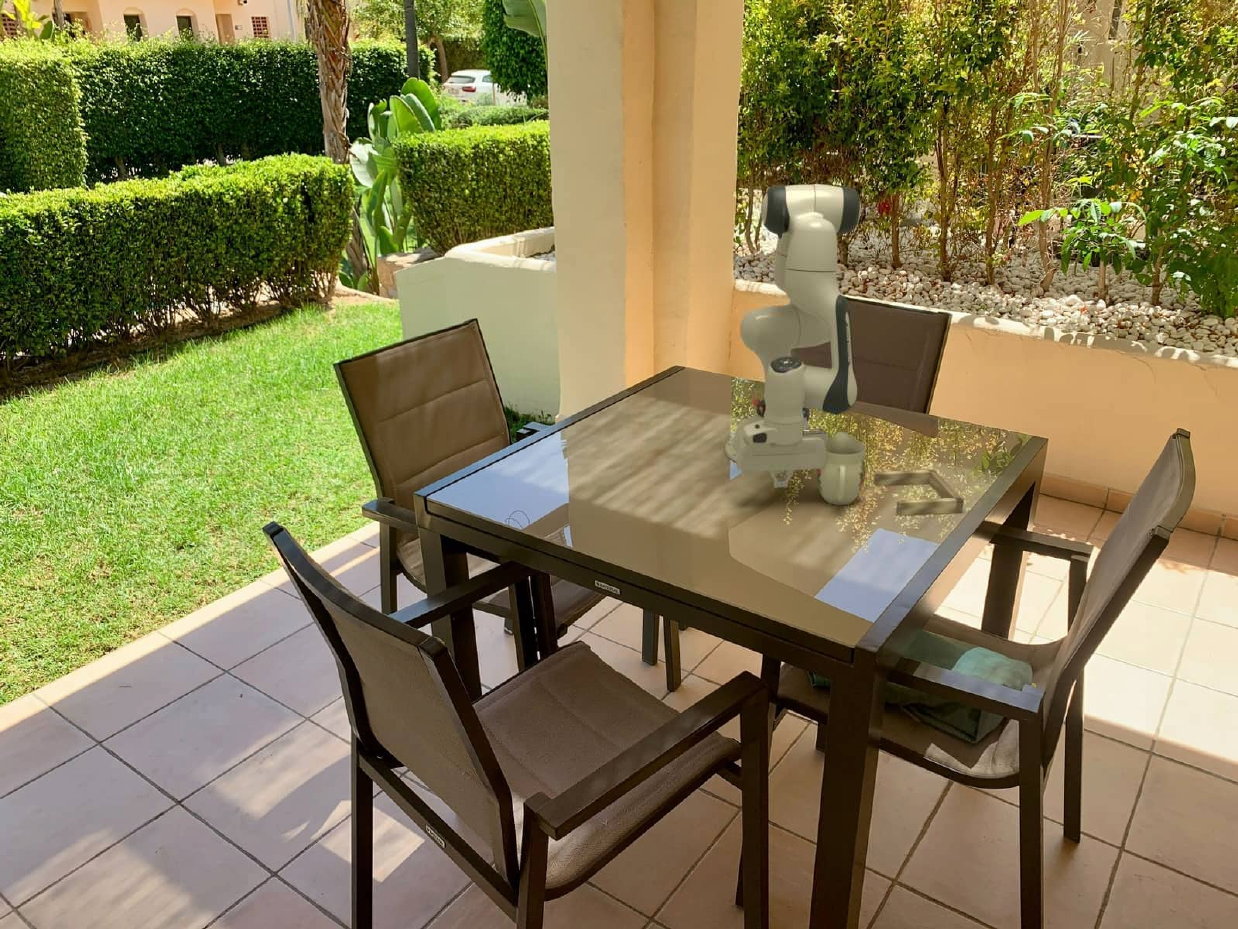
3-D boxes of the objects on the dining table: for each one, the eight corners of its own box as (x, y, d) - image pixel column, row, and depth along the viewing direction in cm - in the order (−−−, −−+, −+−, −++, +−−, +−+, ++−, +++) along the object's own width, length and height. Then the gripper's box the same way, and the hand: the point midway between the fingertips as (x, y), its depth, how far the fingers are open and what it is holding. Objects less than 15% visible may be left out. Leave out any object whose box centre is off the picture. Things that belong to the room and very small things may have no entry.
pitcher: (814, 515, 208) (818, 459, 203) (814, 484, 224) (818, 430, 219) (864, 518, 206) (869, 461, 201) (861, 486, 222) (865, 432, 217)
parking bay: (898, 515, 207) (899, 503, 206) (873, 483, 224) (874, 472, 223) (962, 512, 208) (963, 500, 206) (933, 481, 224) (934, 469, 223)
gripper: (825, 423, 211) (821, 479, 216) (736, 427, 210) (734, 483, 215) (832, 433, 205) (828, 490, 210) (740, 437, 204) (739, 494, 210)
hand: (780, 486), depth 213 cm, fingers closed
